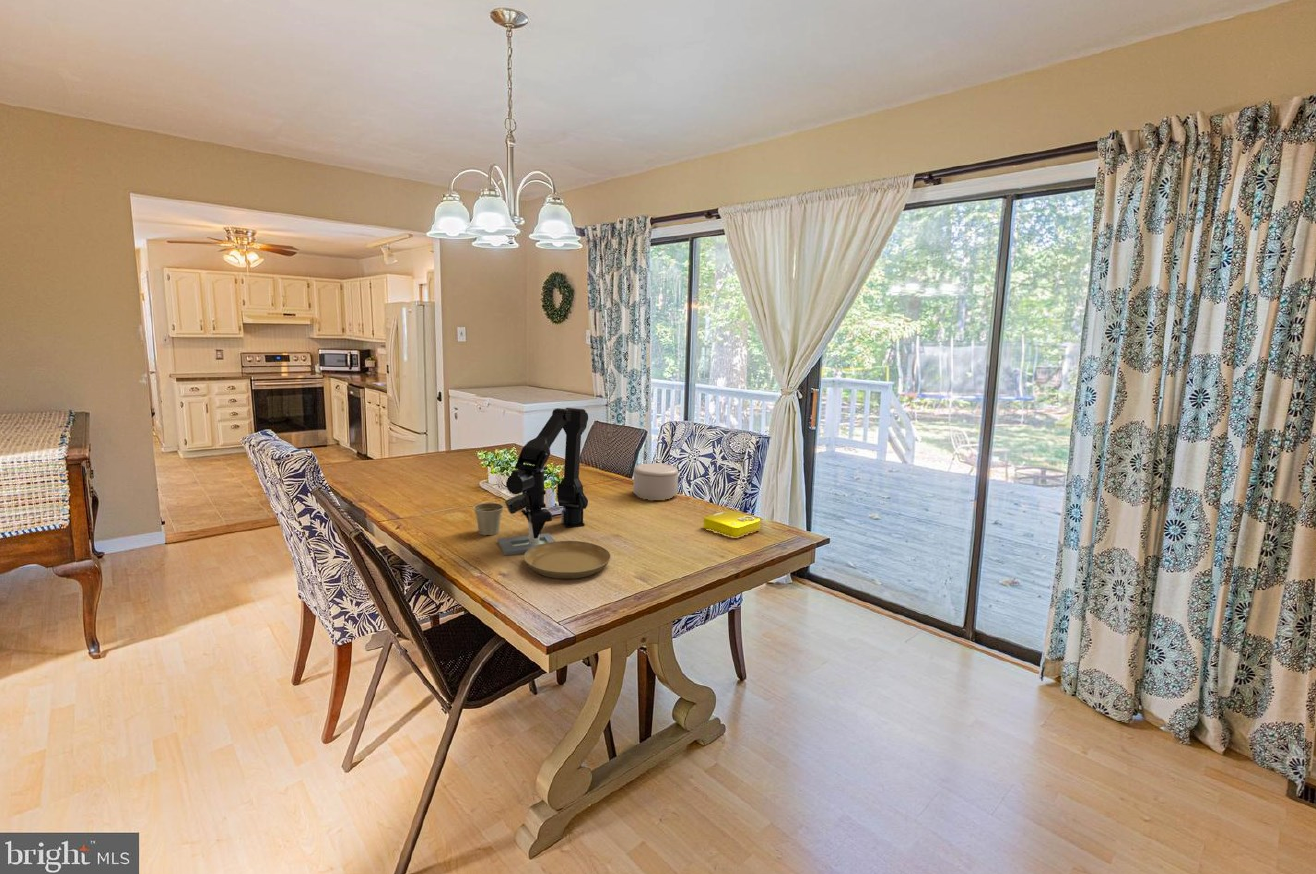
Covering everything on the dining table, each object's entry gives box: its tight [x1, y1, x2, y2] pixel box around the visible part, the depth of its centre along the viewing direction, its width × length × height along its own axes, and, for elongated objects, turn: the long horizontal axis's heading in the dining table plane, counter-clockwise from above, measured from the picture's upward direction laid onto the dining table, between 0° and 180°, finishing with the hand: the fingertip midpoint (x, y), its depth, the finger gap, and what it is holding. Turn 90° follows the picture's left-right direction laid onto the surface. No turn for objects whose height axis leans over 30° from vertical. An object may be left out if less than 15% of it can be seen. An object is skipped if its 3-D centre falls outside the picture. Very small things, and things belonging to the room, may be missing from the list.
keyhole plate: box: [497, 532, 556, 557], centre depth 189 cm, size 16×12×1 cm
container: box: [632, 462, 679, 501], centre depth 250 cm, size 18×18×12 cm
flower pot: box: [472, 502, 505, 536], centre depth 199 cm, size 9×9×9 cm
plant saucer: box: [523, 540, 612, 580], centre depth 175 cm, size 24×24×3 cm
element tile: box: [702, 509, 761, 537], centre depth 211 cm, size 15×15×5 cm
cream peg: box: [528, 521, 539, 545], centre depth 189 cm, size 3×3×9 cm
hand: (534, 536), depth 189 cm, fingers closed on cream peg, 3 cm apart
